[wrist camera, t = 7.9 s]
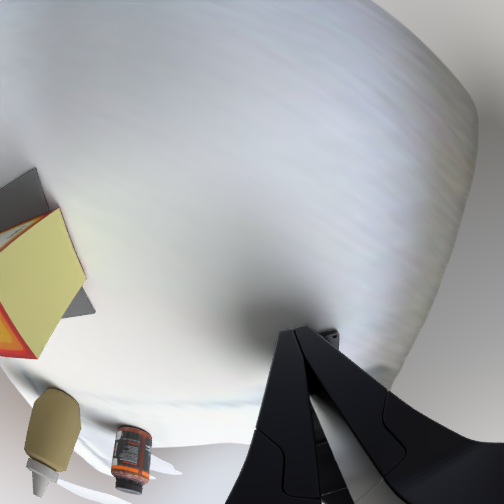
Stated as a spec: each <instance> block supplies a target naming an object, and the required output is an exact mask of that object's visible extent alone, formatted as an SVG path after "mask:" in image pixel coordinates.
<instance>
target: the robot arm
mask: <svg viewBox="0 0 504 504" xmlns="http://www.w3.org/2000/svg"><path fill="white" fill-rule="evenodd" d="M322 502H323V503H325V504H504V443H491V442H479V441H475V440H471V439H468V438H466V437H464V436H461V435H459V434H458V433H456V432H454V431H452V430H450V429H448V428H446V427H444V426H443V425H441V424H439V423H437V422H435V421H434V420H432V419H430V418H428V417H427V416H425V415H423V414H422V413H420V412H418V411H417V410H415V409H413V408H412V407H411V406H409V405H408V404H406V403H405V402H404V401H402V400H401V399H399V398H398V397H397V396H395V395H394V394H393V393H392V392H391V391H387V389H386V388H385V387H384V386H383V385H381V384H380V383H379V382H378V381H376V380H375V379H374V378H373V377H371V376H370V375H369V374H368V373H366V372H365V371H364V370H362V369H361V368H360V367H359V366H357V365H356V364H355V363H354V362H353V361H351V360H350V359H349V358H348V357H346V356H345V355H344V354H343V353H341V352H340V351H339V333H338V331H336V330H334V331H330V332H327V333H323V334H320V335H319V334H318V333H317V332H316V331H314V330H313V329H312V328H311V327H310V326H308V325H306V324H305V325H301V326H297V327H294V329H292V328H289V329H285V330H281V331H279V333H278V337H277V341H276V346H275V350H274V355H273V359H272V363H271V367H270V372H269V376H268V380H267V384H266V388H265V392H264V396H263V400H262V404H261V408H260V412H259V416H258V420H257V423H256V430H254V434H253V438H252V441H251V444H250V448H249V451H248V454H247V457H246V460H245V462H244V465H243V467H242V469H241V472H240V474H239V476H238V478H237V480H236V482H235V484H234V487H233V489H232V491H231V492H230V494H229V496H228V499H227V500H226V502H225V504H322Z"/></svg>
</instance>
